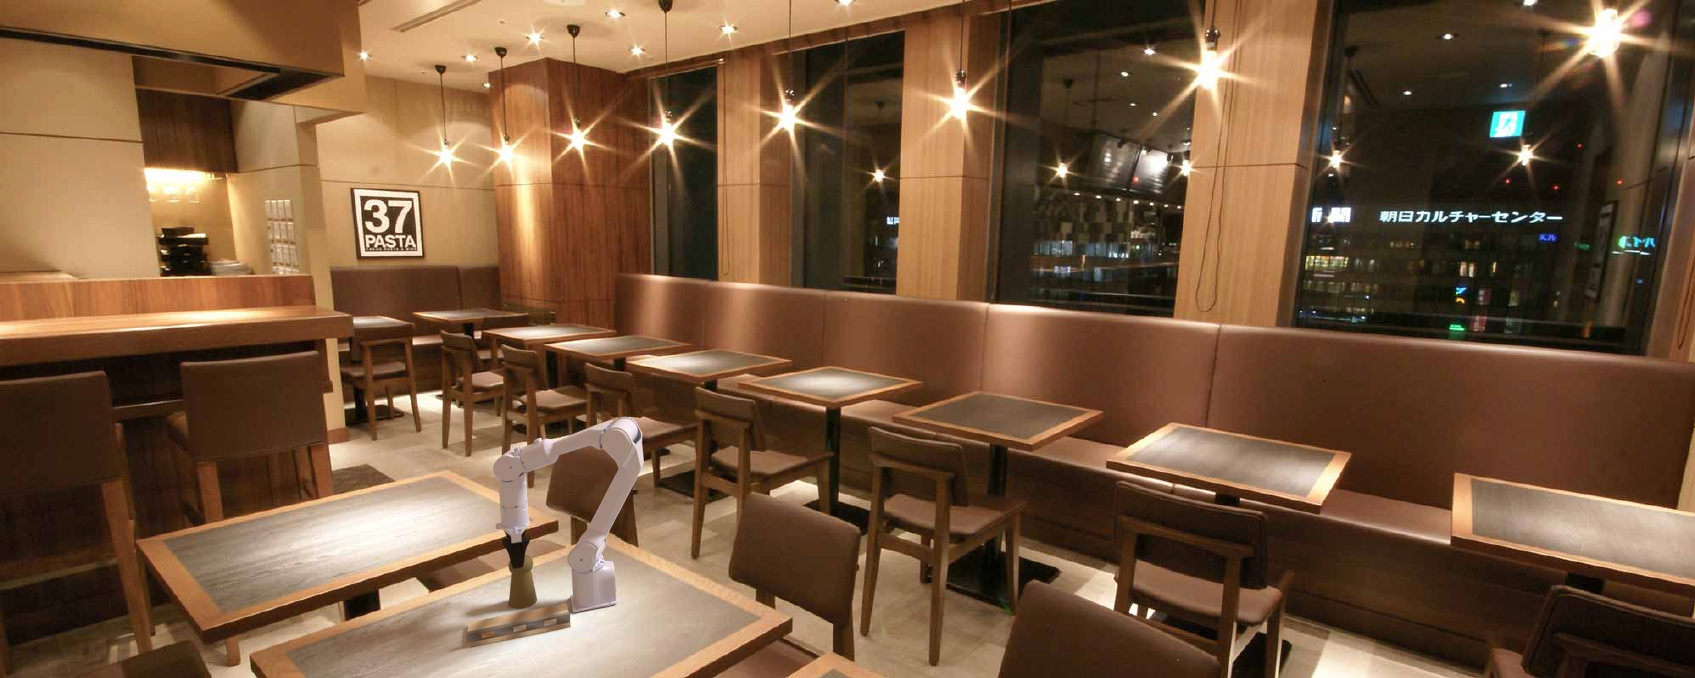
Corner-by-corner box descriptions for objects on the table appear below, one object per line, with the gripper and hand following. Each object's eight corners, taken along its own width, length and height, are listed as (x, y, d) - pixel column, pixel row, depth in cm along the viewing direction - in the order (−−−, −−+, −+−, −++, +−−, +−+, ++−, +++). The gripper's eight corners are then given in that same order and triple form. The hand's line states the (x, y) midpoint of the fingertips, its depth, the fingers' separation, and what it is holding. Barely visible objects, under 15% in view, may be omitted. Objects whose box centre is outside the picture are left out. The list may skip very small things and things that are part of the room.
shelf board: (567, 607, 169) (566, 595, 169) (570, 626, 161) (570, 614, 161) (468, 626, 161) (467, 613, 160) (467, 648, 153) (466, 634, 152)
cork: (526, 610, 168) (524, 564, 166) (502, 607, 169) (500, 561, 167) (542, 597, 174) (540, 553, 172) (519, 594, 175) (517, 550, 173)
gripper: (494, 495, 172) (498, 550, 174) (494, 517, 159) (498, 577, 161) (527, 491, 175) (530, 545, 177) (530, 512, 162) (533, 571, 164)
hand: (517, 560), depth 170 cm, fingers open, 7 cm apart
